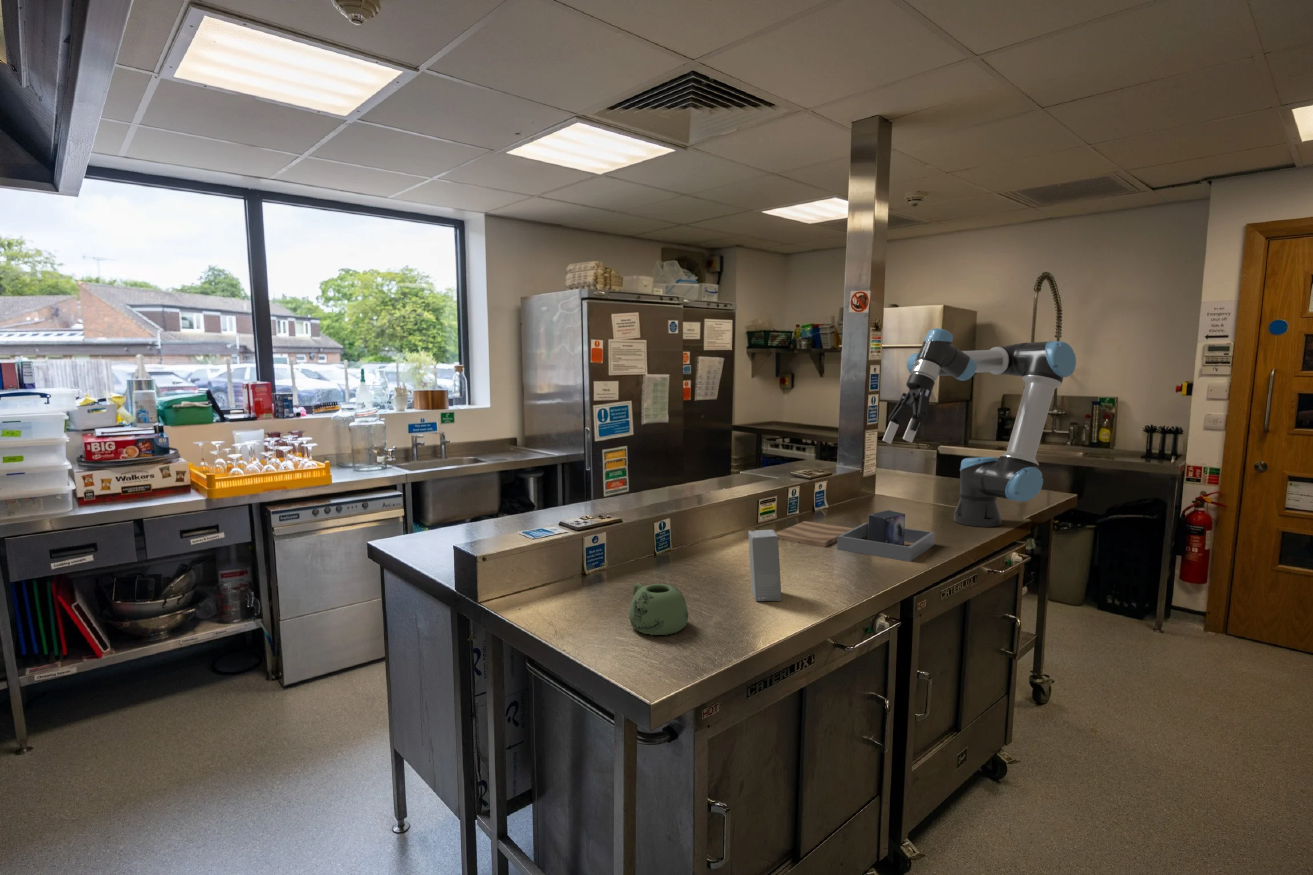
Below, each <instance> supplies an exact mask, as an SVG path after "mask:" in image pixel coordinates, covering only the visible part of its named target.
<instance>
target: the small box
mask: <svg viewBox="0 0 1313 875" xmlns="http://www.w3.org/2000/svg"><path fill="white" fill-rule="evenodd" d="M867 523H868V536H867V540H870V541H876V542H882V543H889V544H895V545H902V546H905V541H904V533H905V528H906V513H902V512H899V511H893V510H889V509H888V510H884V511H879V512H875V513H870V514H868V522H867Z"/></svg>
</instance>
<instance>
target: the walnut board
mask: <svg viewBox="0 0 1313 875" xmlns="http://www.w3.org/2000/svg"><path fill="white" fill-rule="evenodd" d="M853 528H854V527H847V526H846V527H845V526H840V525H832V524H827V523H819V522H813V521H806V520H804V521H801V522H799V523H797V524H794V525H792V526H789V527H787V528H783V530H779V531H777V532H775V533H776V534H777V536H778V538H779V539H778V540H780V539H784V540H783V541H787V542H792V541H793V542H792V543H798V542H800V543H799V544H804V543H805V544H804V545H810V546H815V545H816V547H821V546H822V547H823V548H826V547H828V546H830V545H832V544H834V543H835V542H836V543H837V536H839V535H841V534H843V533H845V532H847V531H849V530H851V529H853ZM822 547H821V548H822Z"/></svg>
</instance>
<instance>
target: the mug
mask: <svg viewBox="0 0 1313 875" xmlns="http://www.w3.org/2000/svg"><path fill="white" fill-rule="evenodd" d="M632 597H633V598H632V600H631V602H630V607H629V620H630V626H631V627H632V628H633V629H634V630H636V631H637V632H638V631H639V633H640V632H642V633H641V634H643V633H644V635H646V634H650V635H649V636H653V635H665V636H669V635H668V634H670V635H673V633H674V634H676V633H678V632H680V631H682V629H683V630H684V628H685V627H686V625H688V621H689V610H688V605H687V602H686V599H685V597H684V595H683V593H682V591H681V590H680V589H678V588H677V587H675V586H674V585H671V584H664V583H653V584H648V585H643V584H641V583H640V582H636V583H635V584H634V586H633V588H632Z"/></svg>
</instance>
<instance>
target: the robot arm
mask: <svg viewBox="0 0 1313 875" xmlns="http://www.w3.org/2000/svg"><path fill="white" fill-rule="evenodd" d="M953 339H954V335H953V333H952V332H950V331H948V330H946V329H944V328H936V327H935V328H931V329H930V330H929V331H927V334H926V335H925V338H924V340H923V341H922V345H921V347H920V350H919V352H916V353H913V354H911V355H910V356H909V357H908V359H907V361H906V368H907V371H908V372H909V373H910V374H909V377H908V379H907V381H906V384H905V385H906V387H907V388H908V389H909V390H908V391H907V393H906V392H902V395H901V396H900V398H899V400H898V402H897V403H896V405H895V406H894V408H893V409H892V411H891V412H890V414H889V415H888V418H887V421H889V423H888V426H887V428H886V431H885V432H884V435H883V438H882V441H883V442H885V443H886V444H889V445H891V444H892V442H893V440H894V437H895V435H896V433H897V430H898V429H899V426H900V422H901V420H902V419H903V418H904V416H905V415H906V414H907V413H908V412H909V410H912V415H911V418H910V421H909V422H908V425H907V428H906V430H905V432H904V434H903V436H902V439H903V441H906V442H908V443H913V442H914V439H915V436H916V434H917V431H918V428H919V427H920V424H921V422H923V420H926V419H927V418H928V411H929V404H930V398H931V394H932V391H933V388H934V386H935V384H936V381H937V379H938V377H939V376H947V377H948V376H951V377H953V378H954V379H957V380H958V381H968V380H970V379H971V378H972V377H973V376H974V375H975V374H977V373H978V374H979V373H990V374H992V375H994V376H995V375H1002V376H1003V375H1005V376H1013V377H1014V376H1015V377H1021V379H1022V381H1023V382H1024V384H1025V385H1024V389H1023V393H1022V395H1021V398H1020V402H1019V406H1018V409H1017V413H1016V417H1015V421H1014V424H1013V428H1012V431H1011V434H1010V437H1009V438H1010V439H1009V441H1008V445H1007V448H1006V449H1007V450H1006V451H1005V452H1004V453H1003V454H1000V455H999V458H998V457H997V456H982V457H981V456H980V457H966V458H963V459H961V463H960V468H959V500H958V502H957V506H956V508H955V509H954V513H953V521H954V522H955V523H957V524H960V525H966V526H969V527H970V526H971V527H983V528H987V527H988V528H990V527H998V526H1001V525H1002V515H1001V511H1000V509H999V505H998V502H997V499H998V498H1001V499H1006V500H1010V501H1013V502H1029V501H1031V500H1032V499H1035V497H1037V495H1038V494H1039V493H1040V492H1041V490H1042V488H1043V484H1044V478H1043V473H1042V472H1041V470H1040V469H1039V465H1040V464H1039V462H1038V461H1037V459H1036V457H1037V454H1038V453H1037V452H1038V451H1039V446H1040V443H1041V439H1042V436H1043V431H1044V428H1045V425H1046V423H1047V422H1046V421H1047V417H1048V413H1049V411H1050V410H1049V409H1050V407H1051V403H1052V400H1053V397H1054V393H1055V390H1056V389H1057V388H1059V387H1060V386H1061V387H1062V384H1063V380H1064V378H1067V377H1070V376H1071V375H1072V374H1073V373H1074V372H1075V369H1076V366H1077V358H1076V353H1075V351H1074V349H1073V347H1072V346H1071V344H1068V343H1067V342H1065V341H1063V340H1062V341H1057V340H1050V341H1033V342H1020V343H1014V344H1008V345H1002V346H994V347H991V348H990V349H981V350H980V349H979V350H960V349H959V348H957V347H956V346H955V345H953V344H952V343H953Z"/></svg>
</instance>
